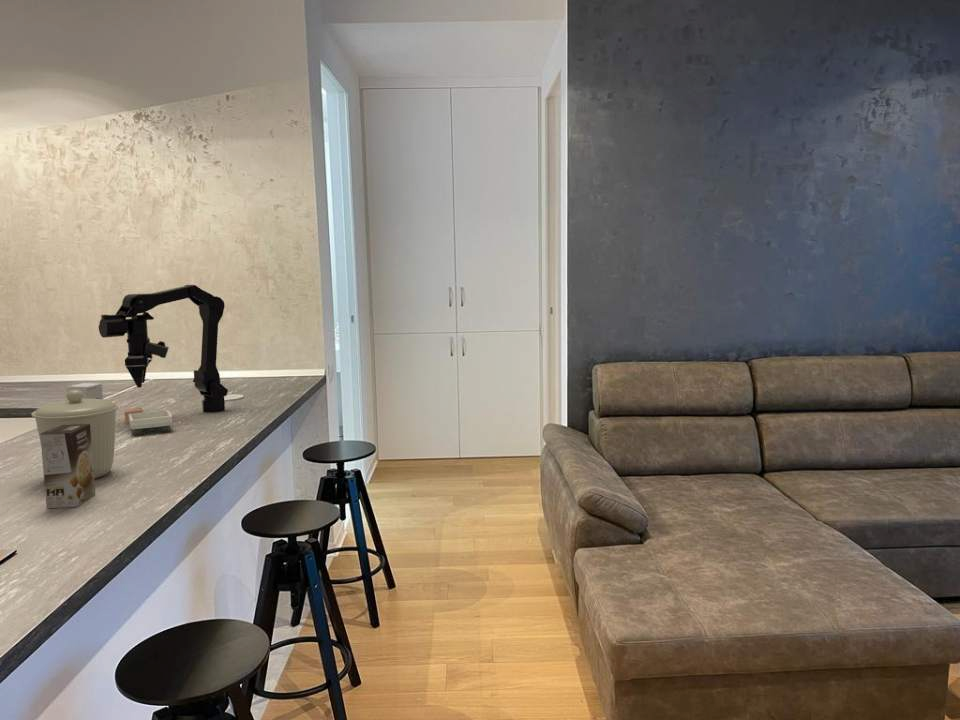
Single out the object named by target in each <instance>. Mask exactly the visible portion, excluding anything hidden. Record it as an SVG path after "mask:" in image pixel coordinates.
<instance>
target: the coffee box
mask: <svg viewBox="0 0 960 720" xmlns="http://www.w3.org/2000/svg"><path fill="white" fill-rule="evenodd" d="M40 436H41V442H40V446H41V457H42V469H43V483H44V493H45V494H44V495H45V503H46V505H45V506H46V509H62V508H63V509H64V508H77V507H79V506H80V505H83V504H84V502H86V501H88V500H89V499H91V498H92V497H93V496H95V495H96V484H95V481H96V480H95V479H94V468H93V455H92V442H91V430H90V424H70V425H60V426H58V427H55V428H53V429H50V430H48V431H46V432H43V433H41V434H40Z"/></svg>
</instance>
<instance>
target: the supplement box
mask: <svg viewBox="0 0 960 720" xmlns="http://www.w3.org/2000/svg"><path fill="white" fill-rule="evenodd" d="M71 390H80V391H81V392H82V393H83V399H104V396H103V395H104V394H103V393H104V392H103V384H102V383H101V382H100V383H99V382H98V383H97V382H82V383H77V384H73V385H68V386H66V394H67V393H68V392H69V391H71Z"/></svg>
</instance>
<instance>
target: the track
mask: <svg viewBox="0 0 960 720" xmlns="http://www.w3.org/2000/svg"><path fill="white" fill-rule="evenodd" d="M201 423H202V424H203V423H204V422H201ZM194 424H195V425H197V424H199V422H197V423H195V422H194ZM184 425H190V423H189V424H188V423H187V424H184ZM176 426H177V425H174V427H176ZM159 428H160V429H162V427H161V426H159V427H156V429H159ZM149 429H153V427H150V428H146V430H149ZM198 429H199V427H197V428H196V430H198ZM200 429H201V430H202V429H203V427H201V428H200ZM205 429H209V427H205ZM191 430H194V428H191V429H188V431H191ZM130 431H133V432H134V429H132V430H131V429H130ZM182 431H183V429H179V430H178V432H182ZM173 432H174V433H175V432H176V430H173V431H171V430H170V431H169V433H173ZM163 433H165V434H166V432H164V431H163V432H161V434H163ZM156 434H158V432H153V433H152V435H156ZM146 435H147V436H148V435H150V433H144V434H143V436H146ZM139 436H141V435H139ZM139 436H138V437H139ZM133 437H137V435H135V434H134V435H133Z"/></svg>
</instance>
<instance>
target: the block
mask: <svg viewBox="0 0 960 720" xmlns="http://www.w3.org/2000/svg"><path fill="white" fill-rule="evenodd" d="M143 410H144V409H143V408H142V407H135V408H127V409H126V408H125V409H124V411H123V412H124V413H123V414H124V422H125V423H124V424H125V425H130V424H129V416H128V414H132V413H142V412H144V411H143Z"/></svg>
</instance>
